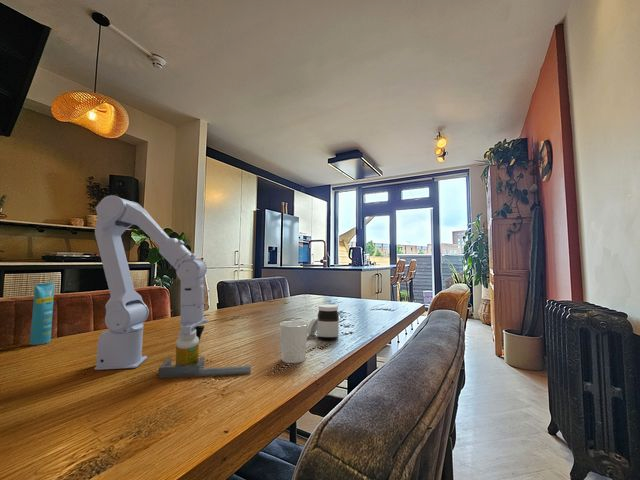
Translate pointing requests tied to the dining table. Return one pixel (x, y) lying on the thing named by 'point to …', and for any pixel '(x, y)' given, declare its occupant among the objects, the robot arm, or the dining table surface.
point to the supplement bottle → (187, 348)
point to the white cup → (293, 341)
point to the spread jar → (325, 323)
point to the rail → (197, 370)
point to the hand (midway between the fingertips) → (192, 355)
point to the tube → (42, 314)
